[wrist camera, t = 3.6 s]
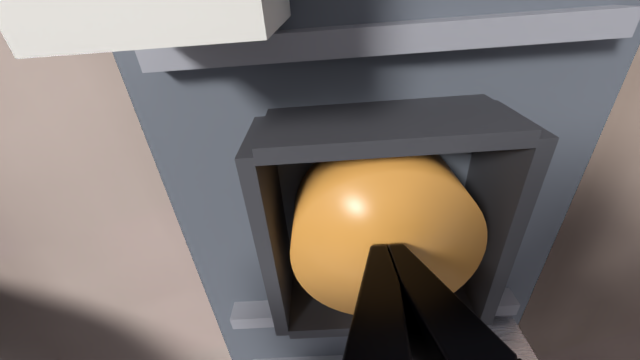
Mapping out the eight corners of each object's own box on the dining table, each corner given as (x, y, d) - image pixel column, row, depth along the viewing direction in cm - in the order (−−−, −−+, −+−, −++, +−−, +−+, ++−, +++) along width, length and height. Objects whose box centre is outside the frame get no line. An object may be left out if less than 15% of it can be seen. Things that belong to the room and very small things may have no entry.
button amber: (302, 270, 11) (300, 321, 9) (285, 141, 8) (277, 179, 7) (444, 262, 11) (467, 312, 9) (470, 129, 8) (510, 165, 7)
